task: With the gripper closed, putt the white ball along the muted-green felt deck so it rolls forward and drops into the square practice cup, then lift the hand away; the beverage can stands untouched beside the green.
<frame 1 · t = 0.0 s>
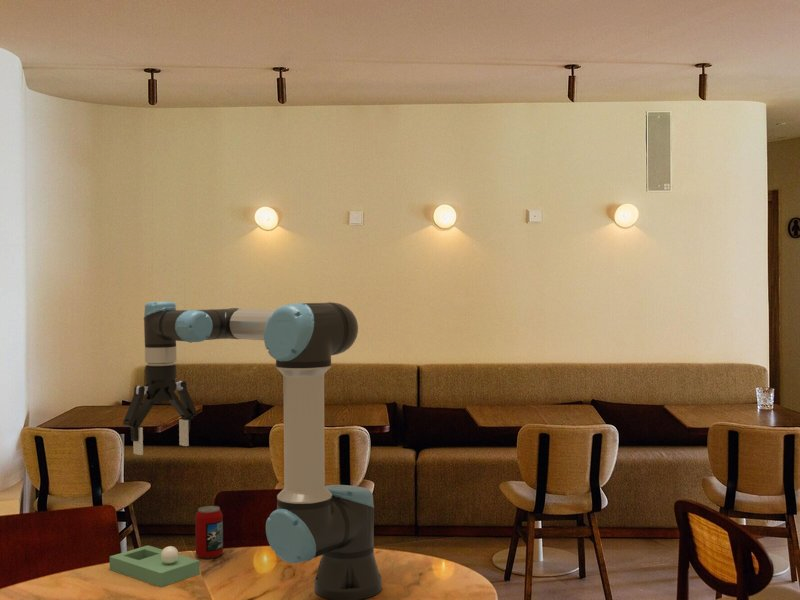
hand: (161, 449, 211), 28 cm above the table, fingers open, 13 cm apart
beverage can: (209, 556, 216), on the table
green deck: (154, 571, 204), on the table
ball: (169, 555, 200), point 5 cm above the table, touching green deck
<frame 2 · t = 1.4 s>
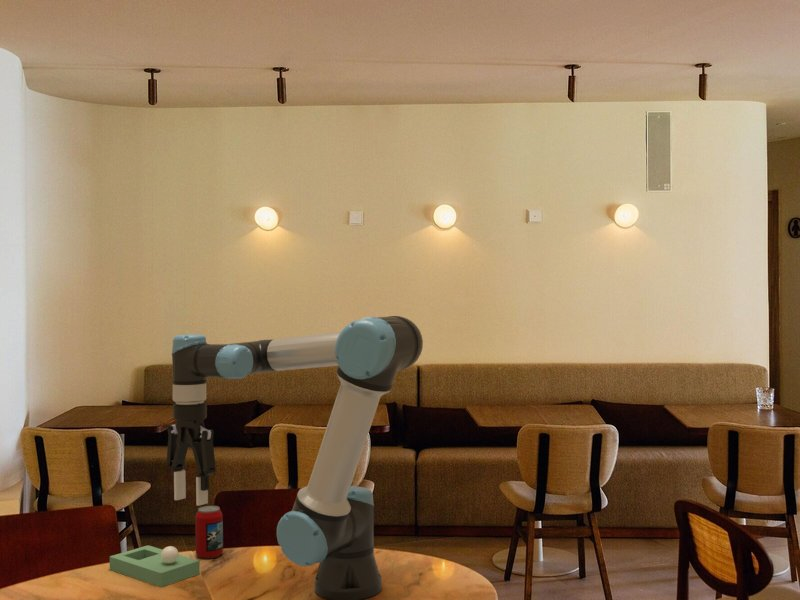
hand: (191, 501, 195), 19 cm above the table, fingers open, 7 cm apart
nothing on the table moved.
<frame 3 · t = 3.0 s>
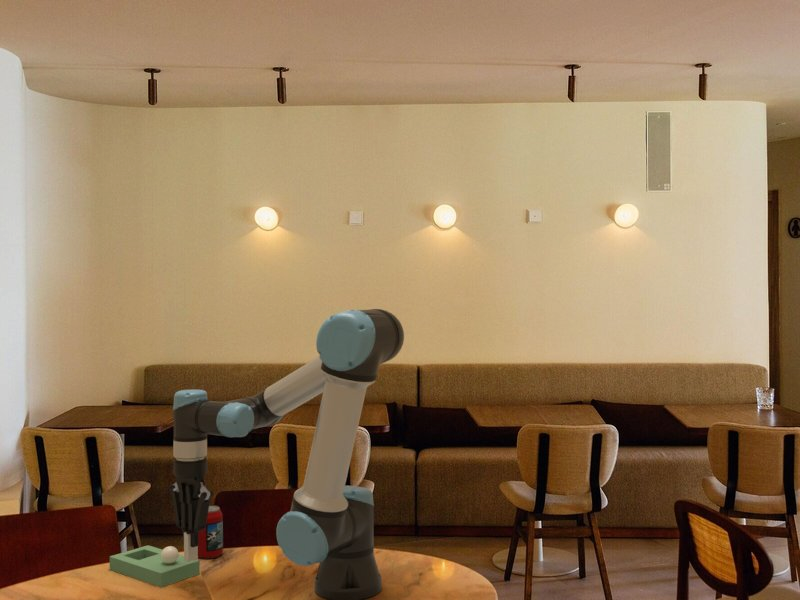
hand: (190, 559, 195), 6 cm above the table, fingers closed
nothing on the table moved.
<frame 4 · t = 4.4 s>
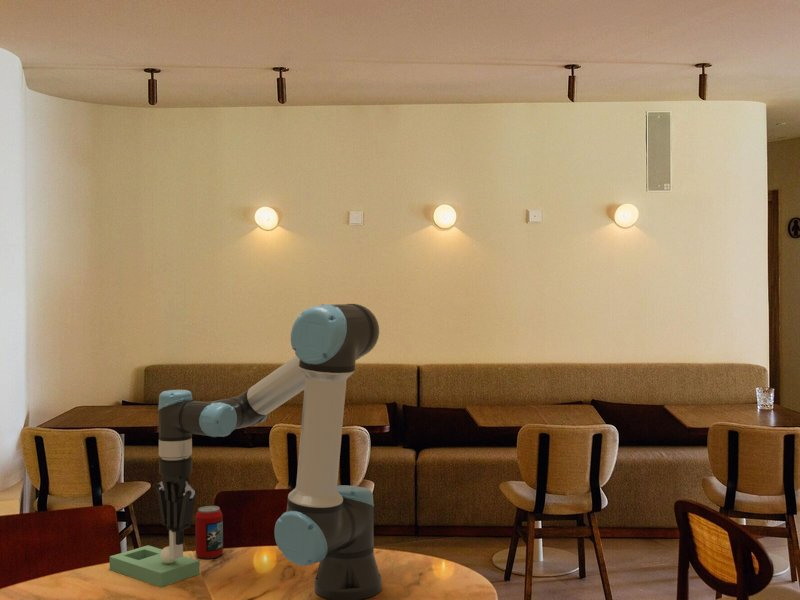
hand: (176, 557, 199), 5 cm above the table, fingers closed
nothing on the table moved.
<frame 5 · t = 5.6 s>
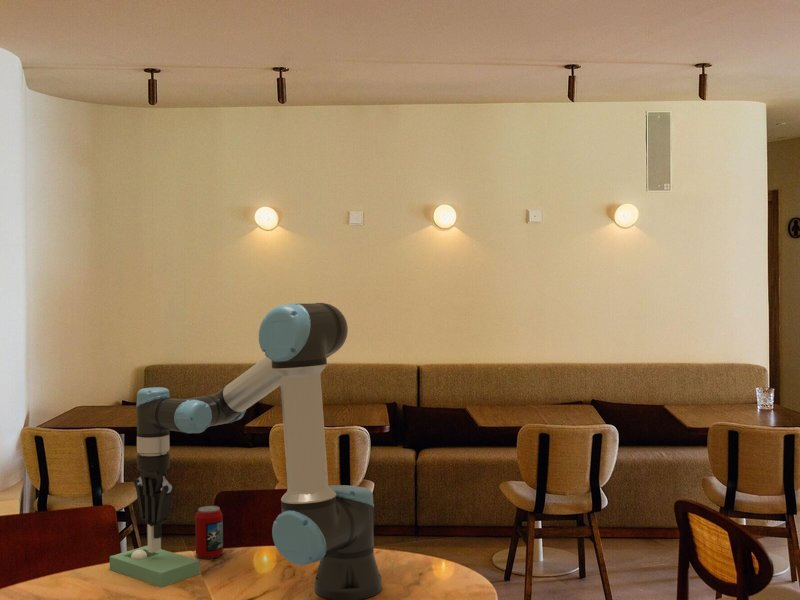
hand: (154, 550, 204), 5 cm above the table, fingers closed
ball: (138, 558, 207), point 2 cm above the table, touching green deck
everything else where it was.
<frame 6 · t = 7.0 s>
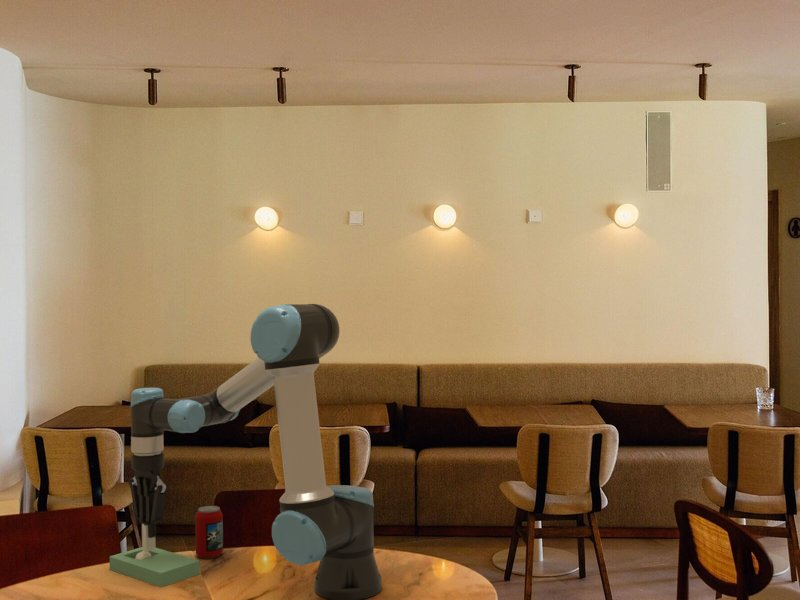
hand: (148, 549, 205), 5 cm above the table, fingers closed
ball: (143, 559, 206), point 2 cm above the table, tilted 51°, touching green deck
everything else where it was.
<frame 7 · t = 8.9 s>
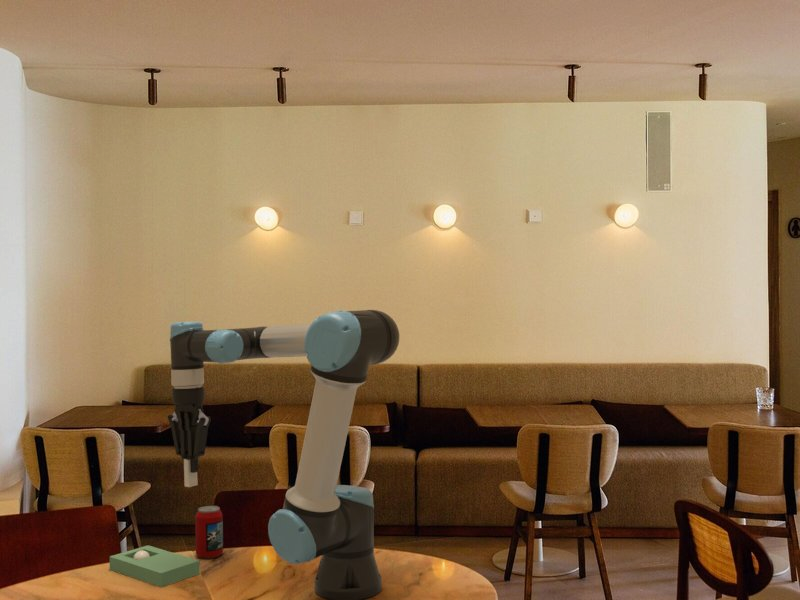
hand: (191, 485, 202), 21 cm above the table, fingers closed
ball: (141, 559, 207), point 2 cm above the table, tilted 31°, touching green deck
everything else where it was.
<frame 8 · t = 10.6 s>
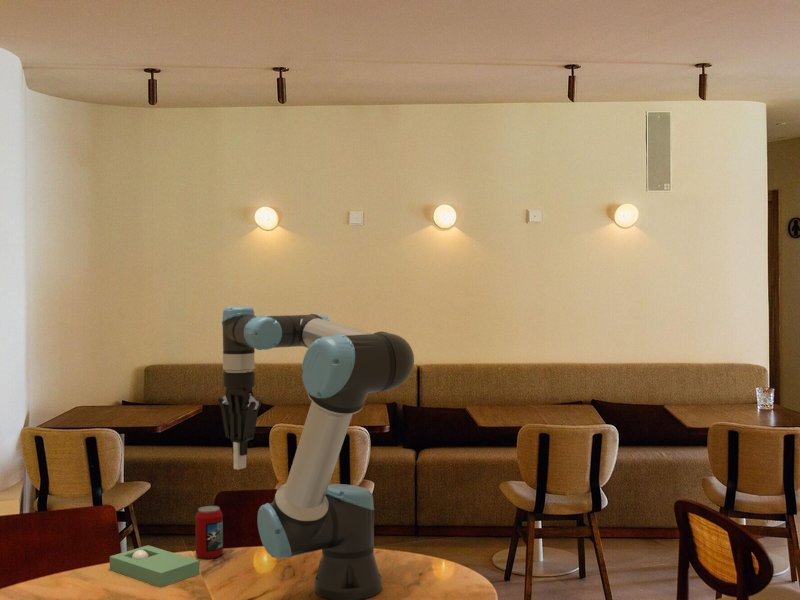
hand: (239, 468, 206), 24 cm above the table, fingers closed
ball: (140, 558, 207), point 2 cm above the table, tilted 13°, touching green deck
everything else where it was.
at the end: ball 0.4 cm from the target spot on the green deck, point 2.2 cm above the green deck's base; the gripper is holding nothing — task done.
